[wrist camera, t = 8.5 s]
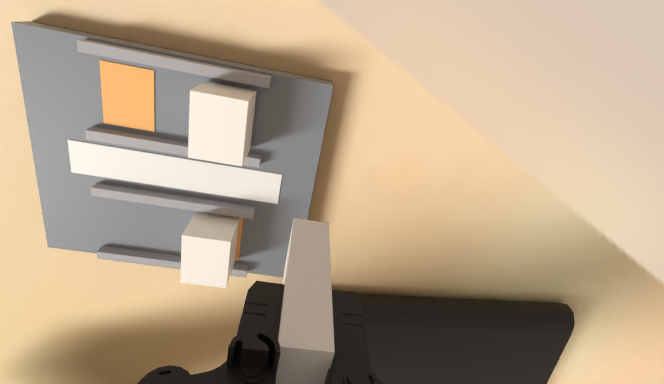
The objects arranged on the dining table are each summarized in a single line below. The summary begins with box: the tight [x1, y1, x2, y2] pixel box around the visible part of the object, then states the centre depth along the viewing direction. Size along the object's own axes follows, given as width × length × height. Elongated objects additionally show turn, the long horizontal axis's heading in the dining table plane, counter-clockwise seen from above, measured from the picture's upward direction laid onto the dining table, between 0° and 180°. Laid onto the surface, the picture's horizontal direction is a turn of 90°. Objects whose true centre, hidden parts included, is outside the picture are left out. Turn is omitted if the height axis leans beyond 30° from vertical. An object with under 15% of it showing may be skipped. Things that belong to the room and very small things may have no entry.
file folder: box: [355, 294, 574, 384], centre depth 46 cm, size 33×4×24 cm
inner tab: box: [180, 212, 239, 288], centre depth 33 cm, size 5×4×4 cm
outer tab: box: [188, 81, 257, 166], centre depth 28 cm, size 5×4×4 cm
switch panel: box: [11, 21, 333, 277], centre depth 33 cm, size 20×24×3 cm
